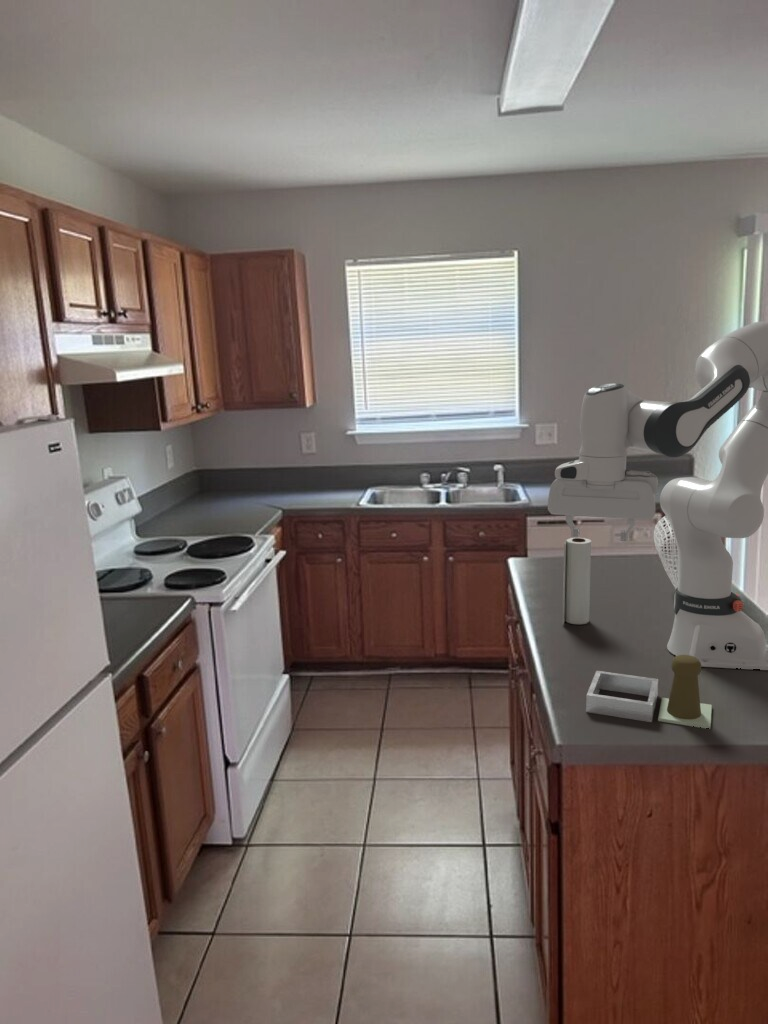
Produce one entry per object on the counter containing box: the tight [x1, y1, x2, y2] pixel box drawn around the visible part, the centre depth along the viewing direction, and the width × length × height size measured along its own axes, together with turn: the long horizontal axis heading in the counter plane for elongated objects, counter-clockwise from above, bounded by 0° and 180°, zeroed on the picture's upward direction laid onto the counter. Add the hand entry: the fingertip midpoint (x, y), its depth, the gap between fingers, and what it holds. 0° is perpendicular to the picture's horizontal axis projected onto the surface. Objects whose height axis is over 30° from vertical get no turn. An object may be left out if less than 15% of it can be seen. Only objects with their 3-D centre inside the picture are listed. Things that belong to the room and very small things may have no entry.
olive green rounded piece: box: [667, 655, 702, 719], centre depth 144 cm, size 6×6×11 cm
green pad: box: [657, 697, 713, 730], centre depth 145 cm, size 9×9×1 cm
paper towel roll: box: [562, 537, 592, 625], centre depth 193 cm, size 7×6×21 cm
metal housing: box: [585, 670, 659, 723], centre depth 150 cm, size 12×12×4 cm
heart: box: [653, 515, 679, 590], centre depth 209 cm, size 28×16×22 cm, turn 167°
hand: (599, 538), depth 151 cm, fingers open, 8 cm apart
